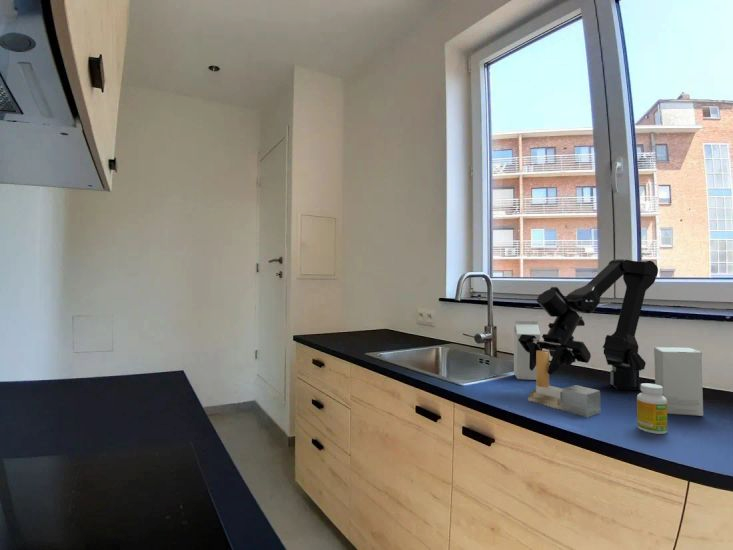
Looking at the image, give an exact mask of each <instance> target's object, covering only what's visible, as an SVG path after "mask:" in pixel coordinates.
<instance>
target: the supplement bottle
mask: <svg viewBox="0 0 733 550" xmlns="http://www.w3.org/2000/svg"><path fill="white" fill-rule="evenodd" d="M640 389H641V390H640V391H641V392H640V393H638V394H637V396H636V422H637V423H636V424H637V425H636V426H637V428H638V429H639V430H641V431H642V430H643V432H645V433H650V434H655V435H663V434H664V435H665V434H667V432H668V414H667V399H666V398H665V397H664V396H662V394H663V387H662V386H660V385H656V384H655V383H648V382H647V383H646V382H645V383H640Z"/></svg>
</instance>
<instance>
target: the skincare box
mask: <svg viewBox="0 0 733 550" xmlns="http://www.w3.org/2000/svg"><path fill="white" fill-rule="evenodd" d="M653 355H654V358H653V359H654V384H656V385H660V386H662V387H663V394H662V396H664V397H665V398H666V399H667V415H668V414H670V415H681V416H682V415H685V416H699V417H704V398H703V396H704V395H703V391H704V390H703V363H702V362H703V361H702V359H703V353H702V352H701V351H700V350H697V349H694V348H692V347H672V346H671V347H665V346H664V347H663V346H662V347H661V346H654V348H653Z"/></svg>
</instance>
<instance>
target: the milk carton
mask: <svg viewBox="0 0 733 550" xmlns="http://www.w3.org/2000/svg"><path fill="white" fill-rule="evenodd" d="M514 321H515V322H514V328H513V375H514V376H515V378H516V379H517V380H532V381H533V380H534V381H536V366H535V368H534V369H533V370H530V368H529V361H530V353H528V352H527V351H525V349H524V348H523V346H522V345H521V344H520V342H519V341H518V339H519V338H520V336H521V334H528V335H534V336H535V337H536V339H538V340H539V341H541V331H540V328H539V321H538V320H514Z"/></svg>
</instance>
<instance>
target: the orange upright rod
mask: <svg viewBox="0 0 733 550" xmlns="http://www.w3.org/2000/svg"><path fill="white" fill-rule="evenodd" d="M549 365H550V353H549V350H545V349H542V350H537V351H536V380H535V381H536V383H535V384H536V385H535V390H536V393H540V394H543V395H547V396H551V397H554V398H558V399H559V404H563V388H561V387H557V386H554V385H550V374H548V368H549Z"/></svg>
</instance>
